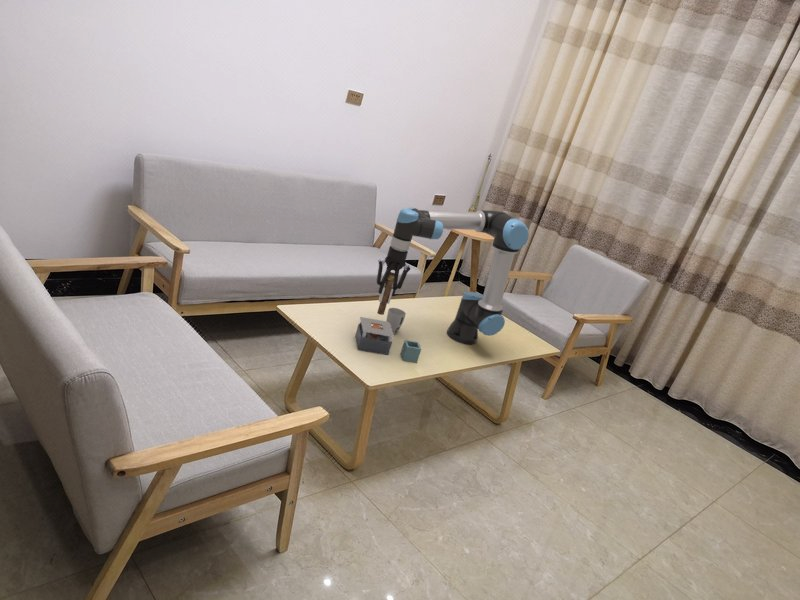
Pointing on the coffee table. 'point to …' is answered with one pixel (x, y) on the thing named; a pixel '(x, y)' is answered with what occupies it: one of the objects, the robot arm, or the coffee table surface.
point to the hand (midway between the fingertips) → (383, 301)
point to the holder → (410, 351)
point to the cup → (395, 318)
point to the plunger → (376, 328)
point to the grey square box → (374, 336)
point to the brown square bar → (386, 293)
